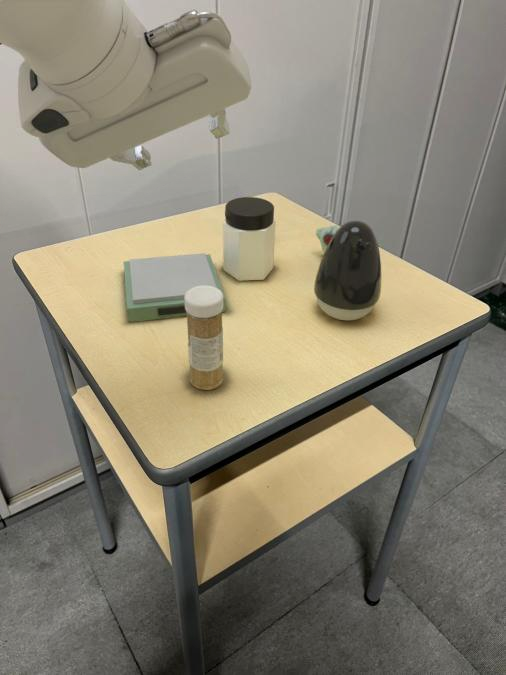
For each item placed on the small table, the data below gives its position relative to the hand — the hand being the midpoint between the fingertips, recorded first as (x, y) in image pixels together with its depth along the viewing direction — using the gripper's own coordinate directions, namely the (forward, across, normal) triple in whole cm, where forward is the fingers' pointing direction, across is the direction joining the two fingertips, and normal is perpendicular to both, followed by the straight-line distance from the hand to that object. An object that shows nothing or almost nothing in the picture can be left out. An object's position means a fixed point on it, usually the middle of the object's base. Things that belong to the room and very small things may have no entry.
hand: (183, 147), depth 55 cm
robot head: (+47, -5, -2) cm, 48 cm away
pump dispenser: (+36, -7, +12) cm, 39 cm away
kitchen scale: (+28, +18, +3) cm, 34 cm away
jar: (+38, +8, -1) cm, 39 cm away
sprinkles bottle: (+18, +10, +22) cm, 29 cm away
